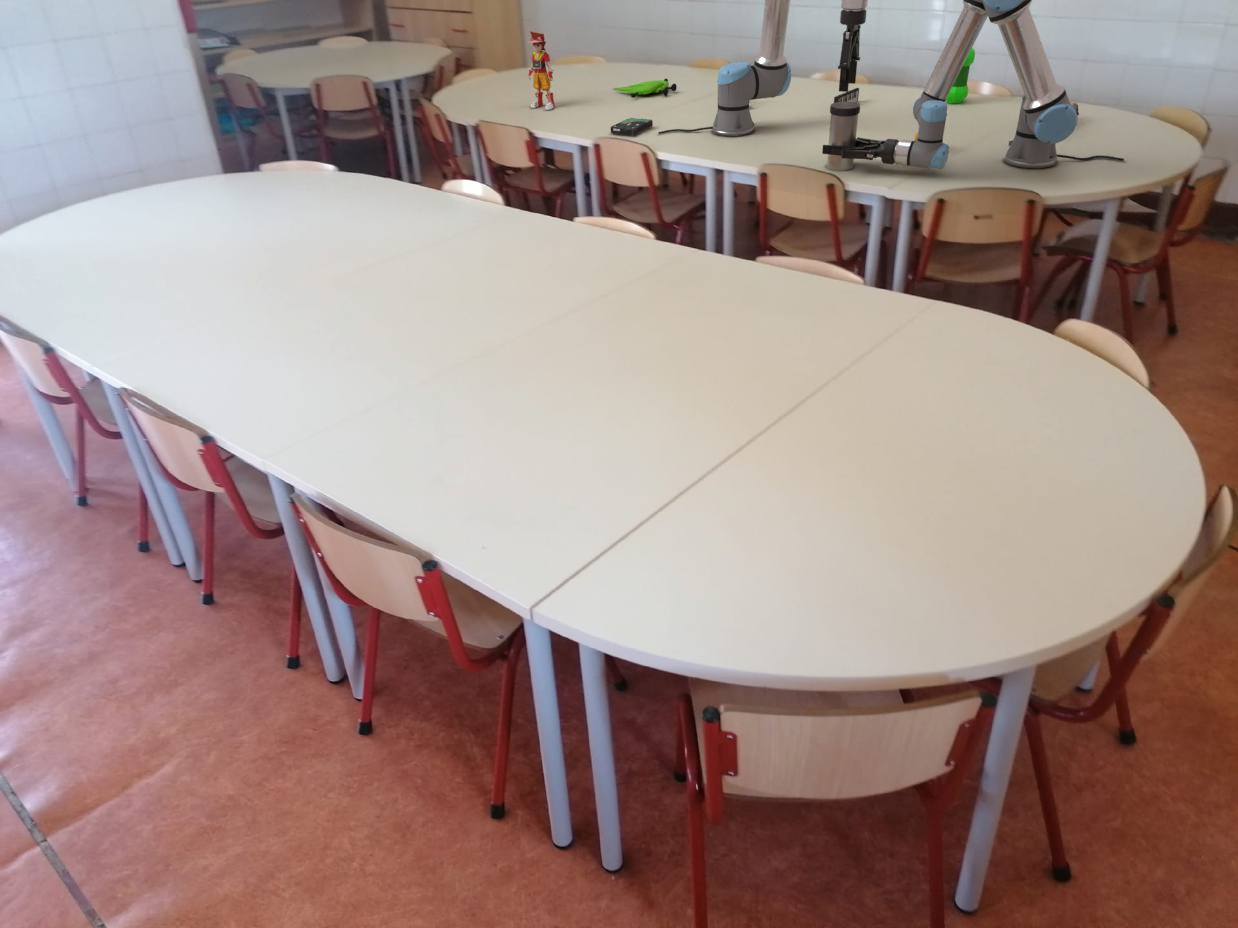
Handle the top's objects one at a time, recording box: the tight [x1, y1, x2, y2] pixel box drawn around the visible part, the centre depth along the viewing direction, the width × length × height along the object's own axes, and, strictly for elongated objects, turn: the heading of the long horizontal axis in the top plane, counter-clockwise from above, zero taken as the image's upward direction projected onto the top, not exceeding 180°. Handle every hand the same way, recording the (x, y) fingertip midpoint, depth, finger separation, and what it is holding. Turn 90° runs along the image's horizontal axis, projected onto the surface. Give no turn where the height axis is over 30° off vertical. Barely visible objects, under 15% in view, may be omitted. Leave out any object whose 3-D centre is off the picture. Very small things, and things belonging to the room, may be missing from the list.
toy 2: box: [612, 78, 677, 99], centre depth 396 cm, size 28×5×30 cm
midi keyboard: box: [833, 87, 860, 103], centre depth 357 cm, size 18×1×5 cm, turn 138°
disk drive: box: [610, 117, 653, 136], centre depth 344 cm, size 10×3×15 cm
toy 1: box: [527, 31, 556, 111], centre depth 374 cm, size 12×9×30 cm
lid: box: [829, 102, 861, 116], centre depth 284 cm, size 9×9×2 cm
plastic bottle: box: [945, 47, 976, 104], centre depth 348 cm, size 10×10×25 cm
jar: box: [826, 113, 859, 171], centre depth 289 cm, size 8×8×19 cm
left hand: (847, 87), depth 281 cm, fingers open, 11 cm apart
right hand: (827, 145), depth 293 cm, fingers closed on jar, 8 cm apart
